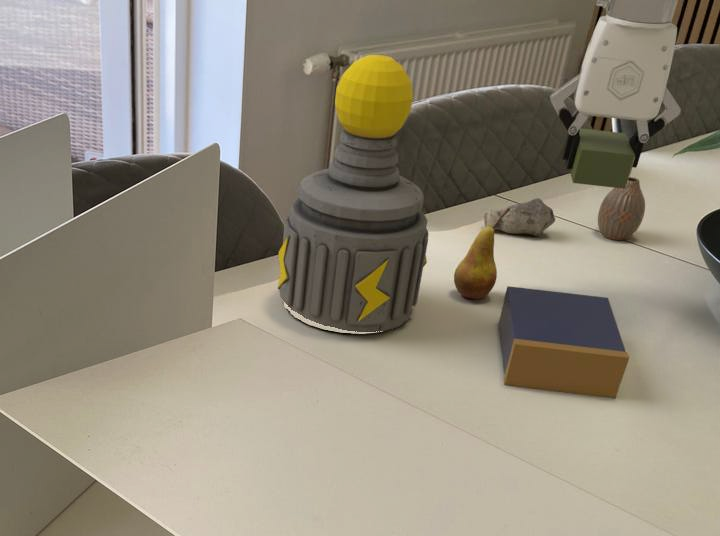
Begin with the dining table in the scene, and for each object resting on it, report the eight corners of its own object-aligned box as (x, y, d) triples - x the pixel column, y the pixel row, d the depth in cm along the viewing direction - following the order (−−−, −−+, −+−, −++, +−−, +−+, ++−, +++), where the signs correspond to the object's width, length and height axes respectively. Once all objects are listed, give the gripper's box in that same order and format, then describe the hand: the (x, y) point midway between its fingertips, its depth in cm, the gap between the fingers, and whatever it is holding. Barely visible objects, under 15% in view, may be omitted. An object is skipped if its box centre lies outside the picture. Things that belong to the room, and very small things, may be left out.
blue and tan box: (597, 335, 132) (609, 296, 129) (615, 398, 119) (629, 357, 115) (497, 323, 133) (506, 285, 130) (504, 384, 120) (514, 344, 116)
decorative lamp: (295, 341, 125) (322, 74, 105) (262, 281, 139) (280, 35, 119) (435, 335, 129) (487, 76, 109) (390, 278, 142) (428, 38, 123)
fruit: (458, 285, 142) (476, 197, 134) (496, 295, 140) (517, 207, 132) (444, 297, 138) (462, 208, 130) (483, 308, 136) (504, 218, 129)
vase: (586, 236, 160) (602, 179, 155) (601, 225, 165) (617, 169, 159) (628, 247, 158) (646, 189, 152) (641, 235, 162) (659, 179, 156)
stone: (477, 237, 160) (510, 216, 152) (478, 204, 160) (511, 181, 153) (526, 251, 164) (560, 231, 156) (527, 219, 164) (561, 197, 157)
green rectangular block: (616, 165, 132) (626, 133, 130) (625, 189, 125) (636, 155, 122) (566, 160, 133) (575, 127, 130) (572, 183, 125) (581, 149, 123)
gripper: (568, 6, 114) (530, 171, 126) (723, 21, 113) (669, 186, 125) (564, -4, 120) (527, 154, 132) (711, 9, 118) (661, 168, 130)
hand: (597, 168), depth 128 cm, fingers closed on green rectangular block, 6 cm apart
